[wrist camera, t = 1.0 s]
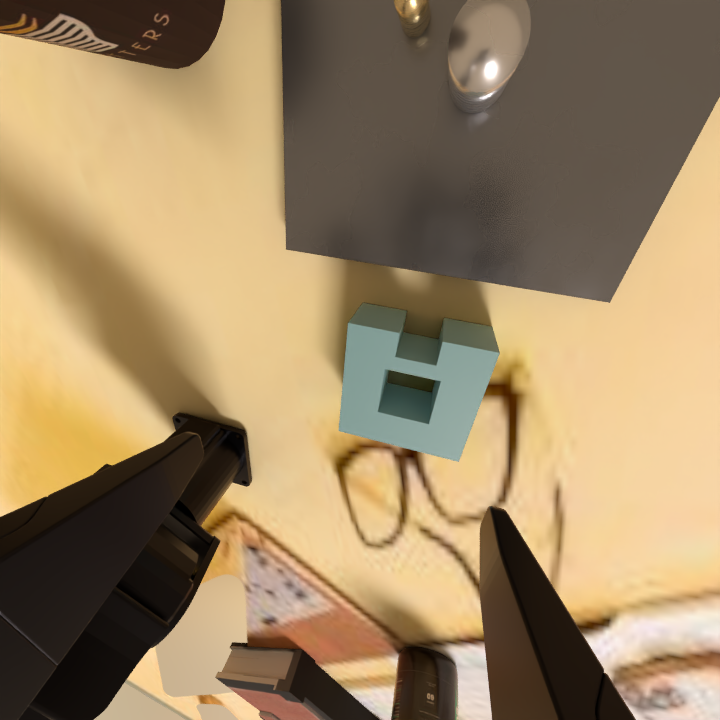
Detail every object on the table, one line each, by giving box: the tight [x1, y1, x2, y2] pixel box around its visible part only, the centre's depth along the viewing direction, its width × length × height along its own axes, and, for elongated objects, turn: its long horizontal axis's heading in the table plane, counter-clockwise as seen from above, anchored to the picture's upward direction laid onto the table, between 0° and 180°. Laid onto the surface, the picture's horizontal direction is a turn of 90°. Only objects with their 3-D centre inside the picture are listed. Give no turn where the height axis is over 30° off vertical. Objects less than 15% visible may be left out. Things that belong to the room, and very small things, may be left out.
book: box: [216, 642, 379, 720], centre depth 52 cm, size 26×18×5 cm
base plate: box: [281, 0, 720, 303], centre depth 10 cm, size 14×15×5 cm
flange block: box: [339, 303, 500, 462], centre depth 18 cm, size 7×7×3 cm
